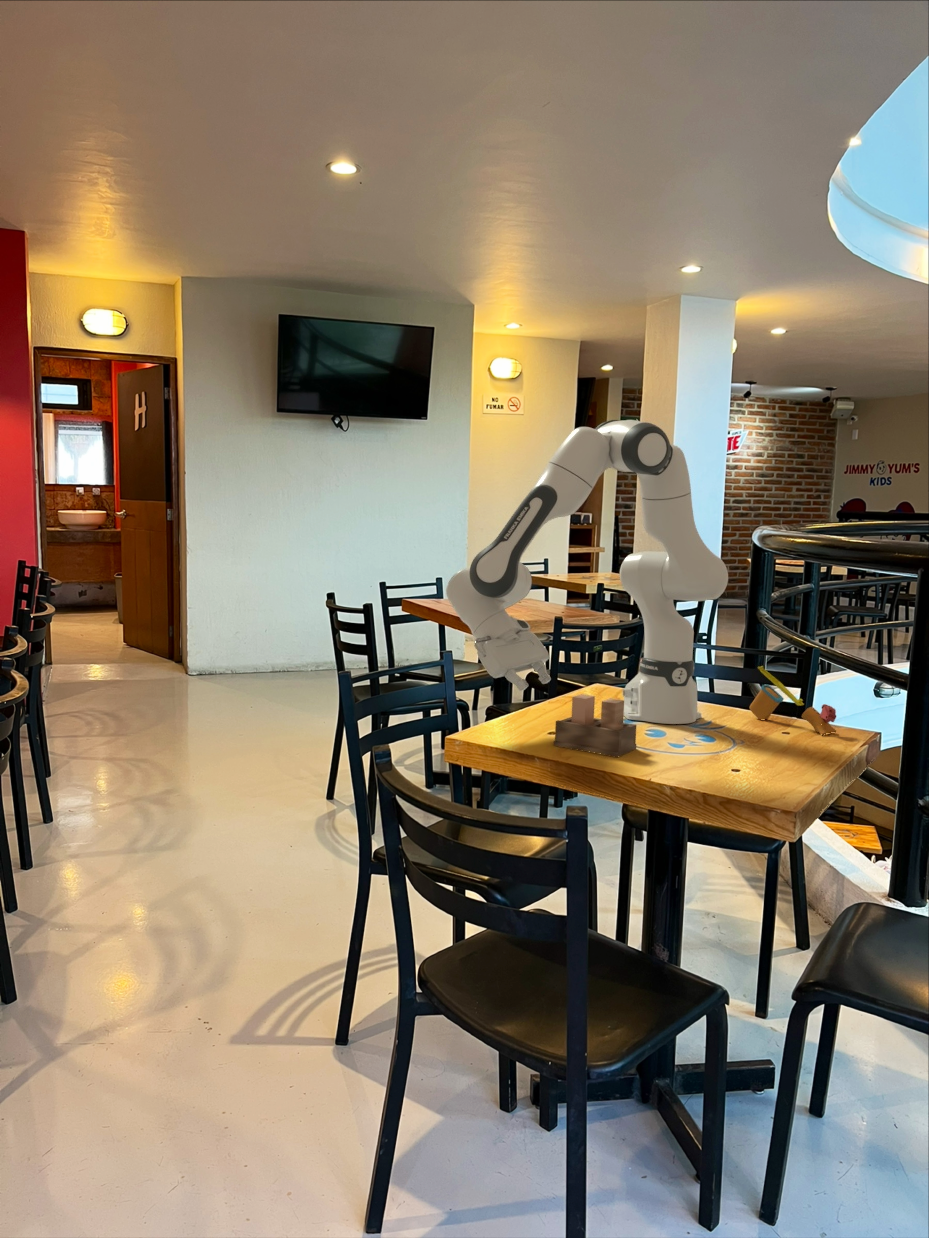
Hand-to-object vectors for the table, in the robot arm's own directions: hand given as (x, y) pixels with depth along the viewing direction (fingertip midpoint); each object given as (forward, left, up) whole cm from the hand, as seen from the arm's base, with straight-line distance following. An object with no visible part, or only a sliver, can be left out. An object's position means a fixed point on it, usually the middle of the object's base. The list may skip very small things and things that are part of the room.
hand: (536, 685), depth 190 cm
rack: (+11, +9, -11) cm, 18 cm away
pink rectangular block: (+9, +7, -10) cm, 15 cm away
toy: (0, +63, -11) cm, 64 cm away
